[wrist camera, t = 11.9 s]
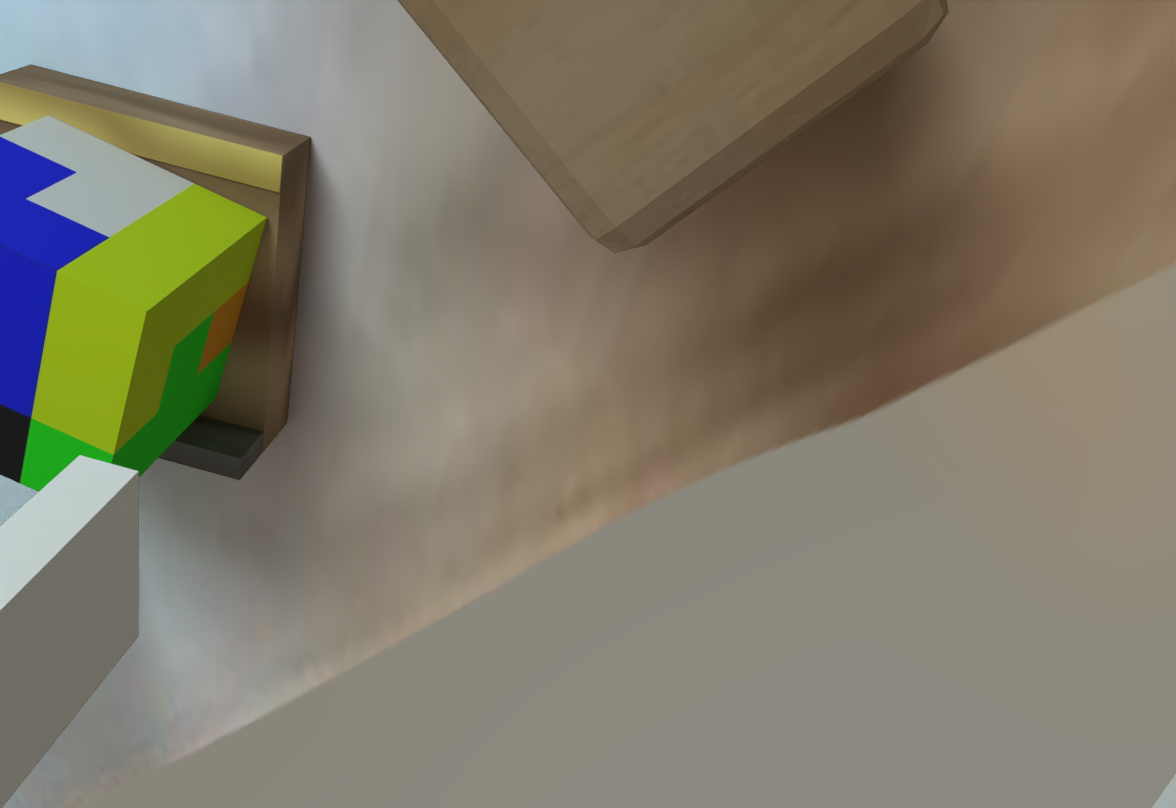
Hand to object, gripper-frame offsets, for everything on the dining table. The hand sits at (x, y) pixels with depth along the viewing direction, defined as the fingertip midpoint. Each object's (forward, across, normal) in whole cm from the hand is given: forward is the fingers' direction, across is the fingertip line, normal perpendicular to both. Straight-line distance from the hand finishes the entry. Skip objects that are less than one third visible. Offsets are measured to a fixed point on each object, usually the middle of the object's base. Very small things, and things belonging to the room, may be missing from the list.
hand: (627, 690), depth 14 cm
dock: (+35, -24, -14) cm, 44 cm away
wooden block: (+35, -3, +6) cm, 36 cm away
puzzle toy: (+32, -24, -13) cm, 42 cm away
